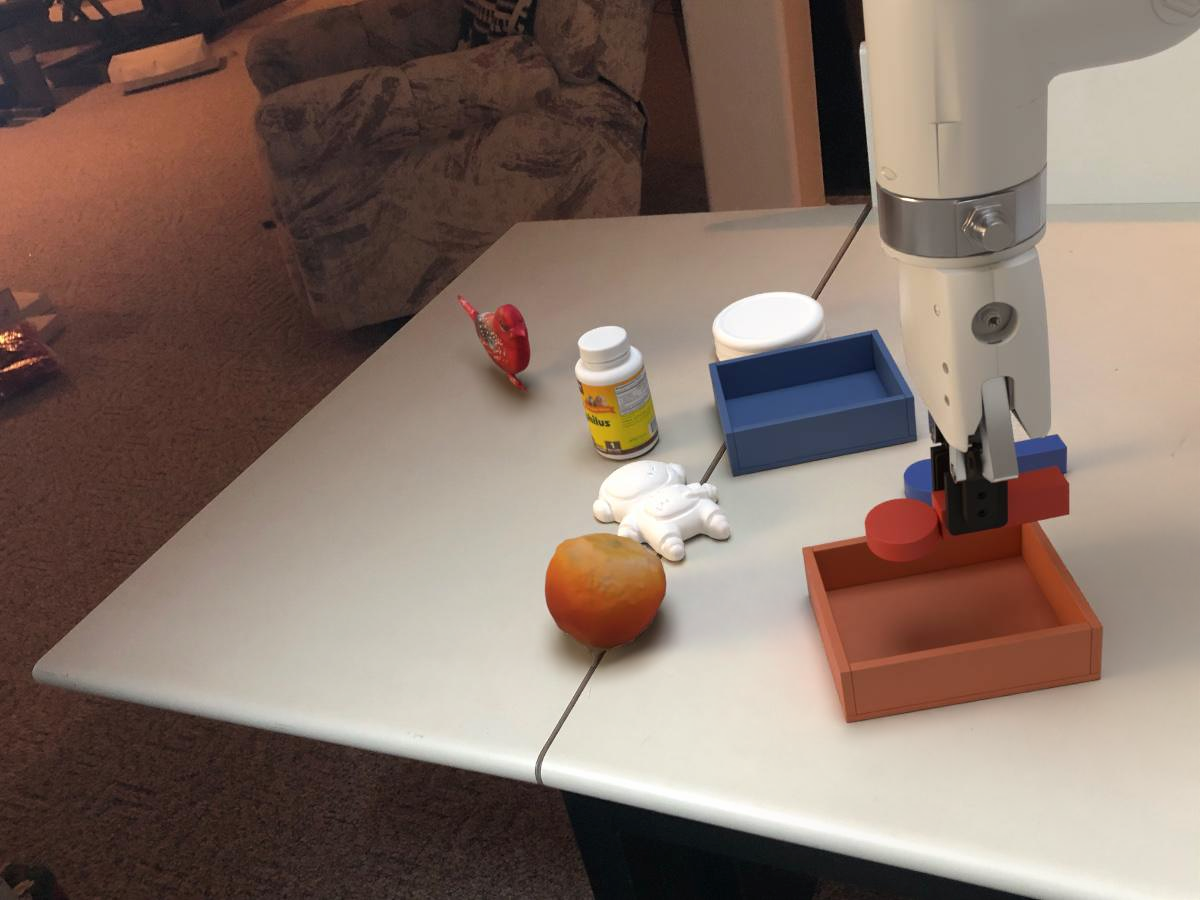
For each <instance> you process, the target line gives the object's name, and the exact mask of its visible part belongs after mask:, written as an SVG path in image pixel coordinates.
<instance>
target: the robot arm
mask: <svg viewBox="0 0 1200 900" xmlns="http://www.w3.org/2000/svg"><path fill="white" fill-rule="evenodd" d="M862 12H863V13H862V14H863V24H864V25H863V26H864V27H863V28H864V38H865V39H864V40H865V51H866V65H867V78H868V80H867V81H868V92H869V105H870V117H871V119H870V120H871V130H872V143H873V157H874V168H875V169H874V171H875V187H876V200H877V201H876V202H877V216H878V228H879V230H878V231H879V243H880V247H881V249H882V251H883V253H884V254H885V255H887V256H888V257H890V258H891V259H892V260H896V261H897V262H898V295H899V296H898V298H899V299H898V300H899V315H900V317H899V318H900V319H899V320H900V330H901V331H900V332H901V343H902V348H903V356H904V361H905V366H906V369H907V372H908V375H909V377H910V379H911V381H912V383H913V385H914V386H915V387H914V388H915V389H916V391H917V393H918V394H919V396H920V398H921V400H922V402H923V403H924V405H925V407H926V408H927V415H928V431H929V437H930V440H931V442H932V444H933V445H934V446H930V448H929V453H930V459H931V473H932V492H936V491H941V490H945V508H946V526H947V529H948V531H949V533H950V534H951V535H953V536H957V535H962V534H968V533H973V532H979V531H984V530H990V529H996V528H1001V527H1004V526H1005V525H1006V524H1007V523H1008V480H1012V479H1017V478H1018V475H1019V474H1018V465H1017V458H1016V450H1015V443H1014V442H1015V439H1014V438H1015V437H1014V429H1013V422H1012V415H1013V416H1014V417H1015V418H1016V420H1017V421H1018V423H1019V425H1020V426H1021V427H1022V429H1023V430H1024V432H1025V433H1026V435H1027V436H1028V437H1029V439H1034V438H1044V437H1046V436H1048V434H1049V433H1050V431H1051V427H1052V396H1051V393H1052V392H1051V367H1050V346H1049V345H1050V343H1049V342H1050V341H1049V327H1048V315H1047V304H1046V294H1045V286H1044V281H1043V274H1042V266H1041V261H1040V258H1039V257H1040V255H1039V252H1038V249H1037V247H1036V245H1038V244H1039V243H1040V242H1041V241H1042V239H1043V238H1044V237H1045V235H1046V232H1047V197H1048V195H1047V194H1048V187H1047V186H1048V185H1047V184H1048V111H1049V110H1048V107H1049V106H1048V105H1049V103H1048V102H1049V101H1048V100H1049V85H1050V83H1051V82H1052V81H1053V79H1054V78H1055V77H1058V76H1060V75H1063V74H1067V73H1073V72H1079V71H1083V70H1089V69H1094V68H1101V67H1106V66H1114V65H1119V64H1124V63H1128V62H1134V61H1138V60H1141V59H1145V58H1148V57H1153V56H1155V55H1157V54H1160V53H1162V52H1165V51H1168V50H1169V49H1171V48H1173V47H1176V46H1177V45H1179V44H1180V43H1182V42H1184V41H1185V40H1187V39H1188V38H1190V37H1191V36H1192V35H1194V34H1196V32H1198V31H1199V30H1200V0H862ZM1011 413H1012V414H1011ZM937 444H939V445H937Z"/></svg>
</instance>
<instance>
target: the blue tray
mask: <svg viewBox="0 0 1200 900" xmlns="http://www.w3.org/2000/svg"><path fill="white" fill-rule="evenodd" d="M708 370H709V374H710V380H711V381H710V382H711V387H712V392H713V397H714V402H715V408H716V412H717V415H718V420H719V423H720V428H721V432H722V436H723V441H724V444H725V445H724V446H725V449H726V453H727V457H728V461H729V465H730V469H731V474H732V477H737V476H741V475H746V474H753V473H757V472H761V471H767V470H772V469H777V468H782V467H789V466H792V465H799V464H803V463H808V462H812V461H813V462H814V461H818V460H824V459H827V458H828V459H829V458H834V457H838V456H839V457H840V456H844V455H849V454H850V455H851V454H855V453H859V452H860V453H861V452H865V451H869V450H875V449H881V448H885V447H890V446H895V445H901V444H905V443H911V442H916V441H918V435H917V434H918V433H917V417H916V404H915V403H916V402H915V395H914V394H913V391H912V390H911V387H910V386H909V384H908V383H907V381H906V379H905V378H904V377H905V376H903V374H902V371H901V370H900V367H899V366H898V365H897V363H896V361H895V359H894V357H893V355H892V354H891V352H890V350H889V348H888V346H887V345H886V343H885V341H884V339H883V338H882V335H881V334H880V332H879V329H878V328H877V329H872V330H867V331H862V332H857V333H851V334H847V335H842V336H837V337H832V338H827V340H822V341H817V342H812V343H807V344H802V345H798V346H793V347H788V348H783V349H778V350H773V351H768V352H763V353H758V354H754V355H749V356H744V357H739V358H734V359H729V360H724V361H720V360H718V361H716V362H710V363H708Z"/></svg>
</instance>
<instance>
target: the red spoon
mask: <svg viewBox="0 0 1200 900" xmlns="http://www.w3.org/2000/svg"><path fill="white" fill-rule="evenodd" d="M931 495H932V505H933V507H931V506H930V505H928V504H926V503H924V502H922V501H919V500H915V499H908V498H907V497H905V498H904V497H903V498H902V497H901V498H894V499H888V500H886V501H882V502H881V503H879V504H877V505H875V506H874V507H872V508H871V509H870V510H869V511H868V513H867V514H866V516H865V519H864V531H865V536H866V538H867V544H868V546H869V548H870V550H871V551H872V552H873V553H874V554H875V555H877V556H878V557H880V558H882V559H885V560H889V561H894V562H908V561H914V560H918V559H920V558H923V557H925V556H927V555H928V554H930V553H931V552H932V551H933V550H934V549H935V548H936V547H937V545H938V543H939V540H940V535H941V537H942V539H943V541H945V540H950V539H954V538H959V537H964V536H969V535H974V534H978V533H983V532H988V531H993V530H998V529H1002V528H1007V527H1012V526H1017V525H1021V524H1026V523H1031V522H1036V521H1038V522H1039V521H1045V520H1049V519H1055V518H1059V517H1065V516H1069V515H1070V513H1071V512H1070V511H1071V510H1070V507H1071V506H1070V482H1069V480H1068V479H1067V478H1066V476H1065V475H1064V473H1062V472H1061V471H1060V469H1059V468H1058V466H1052V467H1048V468H1043V469H1038V470H1034V471H1029V472H1024V473H1020V474H1019V475H1018V478H1017V479H1012V480H1008V523H1007V524H1006V525H1005V526H1004V527H1001V528H996V529H990V530H984V531H979V532H973V533H968V534H962V535H957V536H953V535H951V534H950V533H949V531H948V529H947V526H946V508H945V490H941V491H936V492H932V493H931ZM939 533H940V534H939Z"/></svg>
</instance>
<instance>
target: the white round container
mask: <svg viewBox="0 0 1200 900" xmlns="http://www.w3.org/2000/svg"><path fill="white" fill-rule="evenodd" d="M826 327H827V326H826V321H825V311H824V308H823V306H822V304H820V303H819V302H818V301H817V300H816V299H814V298H812V297H810V296H808V295H807V294H806V295H805V294H802V293H798V292H792V291H771V292H770V291H769V292H762V293H757V294H753V295H750V296H747V297H744V298H741V299H739V300H736V301H734V302H733V303H730V304H729V305H728V306H726V307H724V308H723V309H722V310H721V311H720V312H719V313H718V314H717V315H716V317H715V318H714V320H713V323H712V328H711V333H712V335H713V342H714V346H715V354H716V356H717V359H718V361H724V360H729V359H734V358H739V357H744V356H749V355H754V354H758V353H763V352H768V351H773V350H778V349H783V348H788V347H793V346H798V345H802V344H807V343H812V342H817V341H822V340H827V339H828V335H827V331H826Z"/></svg>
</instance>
